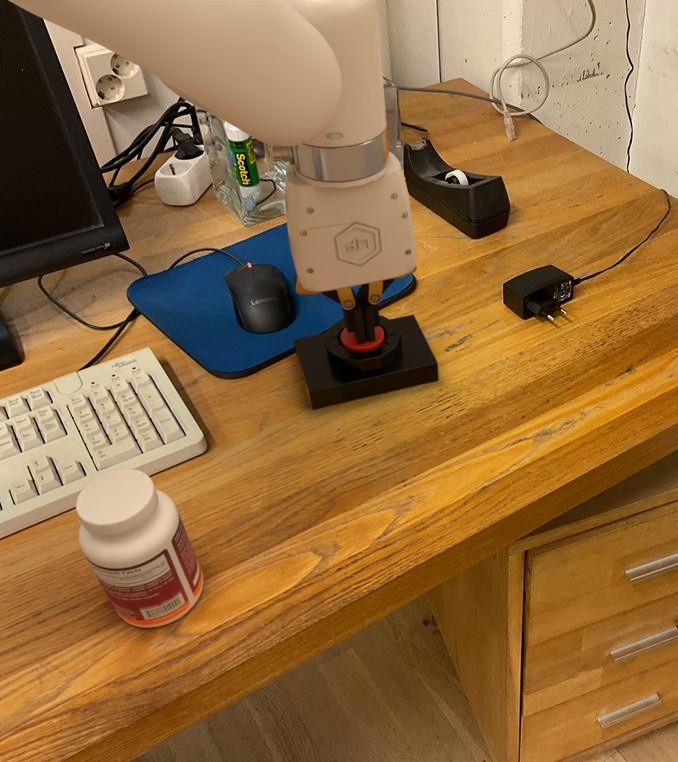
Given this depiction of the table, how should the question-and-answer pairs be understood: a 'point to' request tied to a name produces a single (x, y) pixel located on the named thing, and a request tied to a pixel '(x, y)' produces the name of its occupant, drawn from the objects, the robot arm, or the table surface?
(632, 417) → the table surface
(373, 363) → the button box
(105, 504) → the pill bottle
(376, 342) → the button
